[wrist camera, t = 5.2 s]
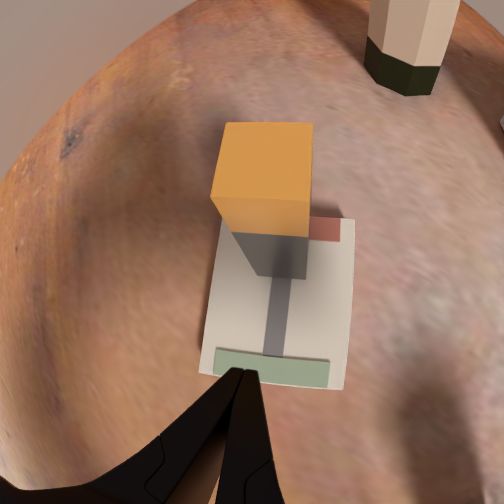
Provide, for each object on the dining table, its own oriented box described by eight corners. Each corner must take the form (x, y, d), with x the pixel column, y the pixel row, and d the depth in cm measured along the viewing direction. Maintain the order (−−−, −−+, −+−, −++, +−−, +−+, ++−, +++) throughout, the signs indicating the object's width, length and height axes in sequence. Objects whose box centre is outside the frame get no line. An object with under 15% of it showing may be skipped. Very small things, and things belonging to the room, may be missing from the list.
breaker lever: (305, 279, 19) (309, 201, 9) (257, 275, 19) (210, 196, 9) (309, 233, 20) (312, 123, 10) (262, 230, 20) (226, 122, 10)
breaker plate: (338, 386, 19) (343, 390, 17) (207, 370, 20) (197, 372, 18) (350, 230, 22) (355, 218, 20) (229, 222, 23) (222, 209, 21)
